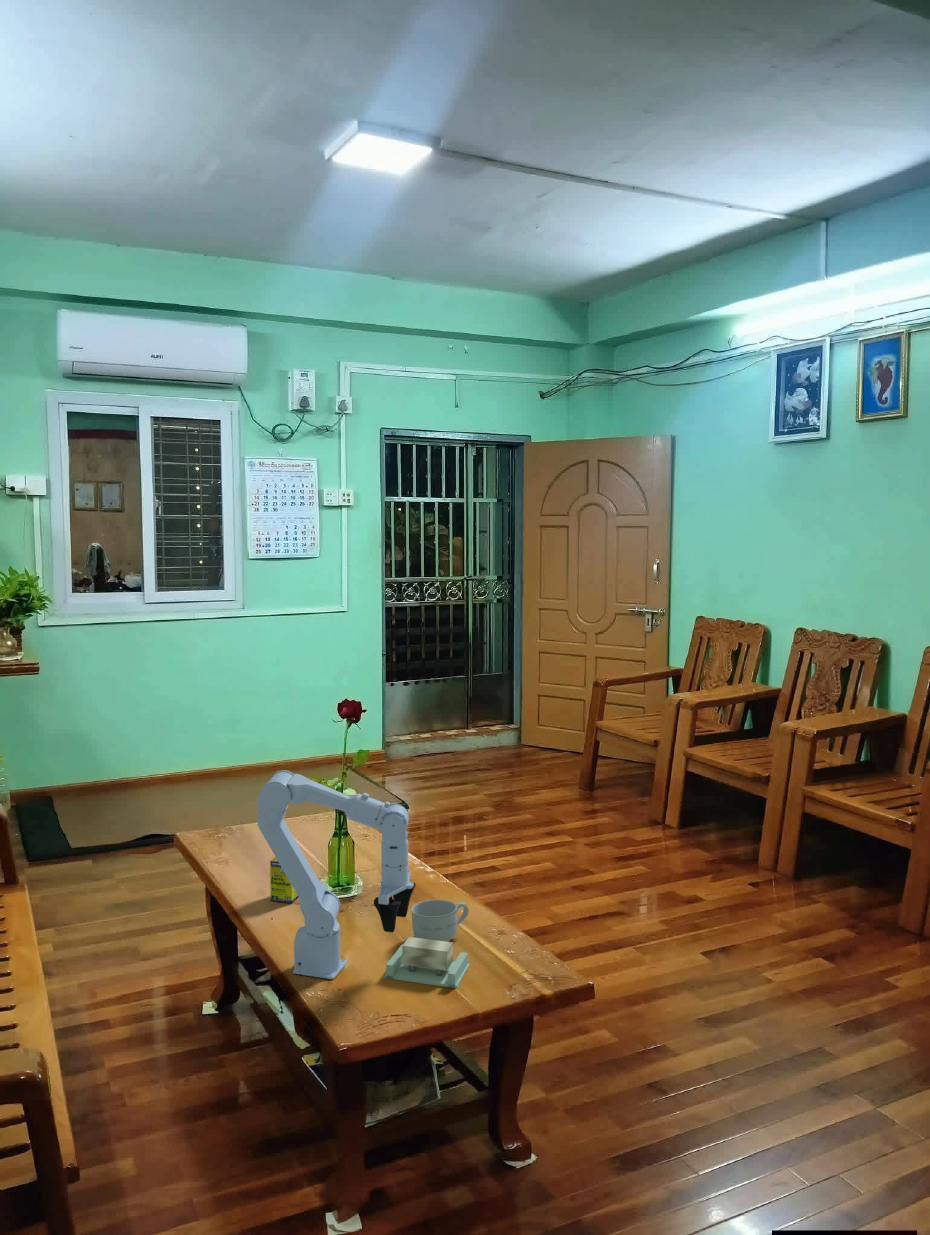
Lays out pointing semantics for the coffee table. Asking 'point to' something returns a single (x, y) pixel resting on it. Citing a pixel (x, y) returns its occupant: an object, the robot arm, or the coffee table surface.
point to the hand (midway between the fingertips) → (395, 923)
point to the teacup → (437, 919)
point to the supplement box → (280, 884)
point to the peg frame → (427, 971)
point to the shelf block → (427, 953)
